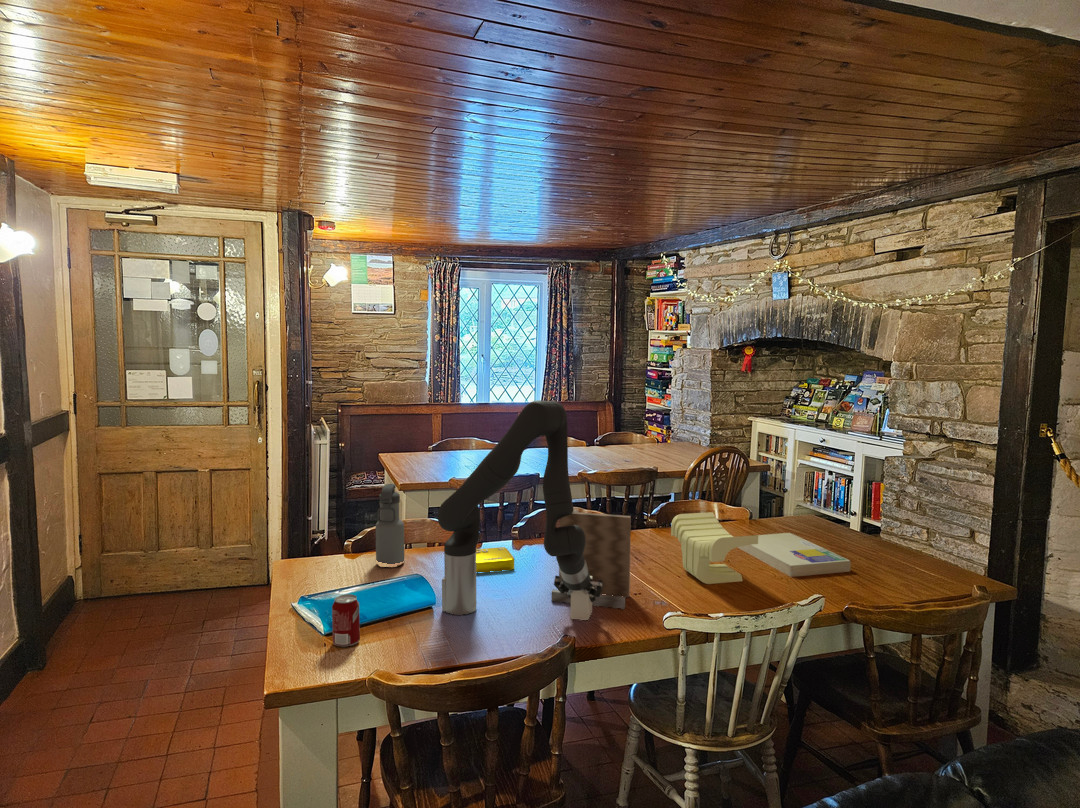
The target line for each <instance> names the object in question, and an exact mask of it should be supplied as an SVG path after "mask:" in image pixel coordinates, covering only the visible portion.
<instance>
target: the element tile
mask: <svg viewBox="0 0 1080 808" xmlns="http://www.w3.org/2000/svg"><path fill="white" fill-rule="evenodd" d="M512 569H514V570H515V557H514V556H513V555H512V553H511V552H510V550H508V548H507V547H505V546H503V547H502V546H501V547H489V548H487V547H486V548H476V572H490V571H502V570H512ZM512 571H513V570H512Z"/></svg>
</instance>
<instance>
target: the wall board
mask: <svg viewBox="0 0 1080 808" xmlns="http://www.w3.org/2000/svg"><path fill="white" fill-rule="evenodd" d="M631 517H632V516H631V515H624V514H623V515H621V514H606V513H592V512H582V511H581V512H576V511H573V513H572V514H571V515H568V516H566V517H563V518H561V519H559V527H563V526H570V525H577V526H579V527H581V528H582V529H583V531H584V533H585V538H586V543H585V548H584V552H583V556H584V559H585V561H586V563H587V566H588V570H589V573H590V576H593V579H592V580H593V581H594V582H598V580H602V581H603V583H602V590H601V593H600V597H596V598H595V601H593V602H592V605H595V606H594V607H599V606H604V607H603V608H608V607H613V608H612V609H617V608H621V609H620V610H625V608H626V598H628V597H630V592H631V591H630V589H631V585H630V583H631V581H630V580H631V536H632V532H631V531H632V529H631V528H632V527H631V526H632V525H631V524H632V521H631V520H632V518H631ZM558 576H559V577H560V578H562V576H561V574H560V570H559V569H558ZM593 587H594V586H593ZM602 594H606V595H602ZM612 595H613V596H612ZM622 596H623V597H622ZM553 601H556V602H555V603H562V602H566V603H565V604H571V598H569V596H568V594H567V593H566V592H565V593H561V592H560V591H559V590H558V589H552V590H551V602H553Z"/></svg>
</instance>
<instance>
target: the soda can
mask: <svg viewBox="0 0 1080 808" xmlns="http://www.w3.org/2000/svg"><path fill="white" fill-rule="evenodd" d="M357 598H358V597H357V595H354V594H351V593H350V594H348V593H347V594H346V593H345V594H340V595H337V596H335V598H334V600H333V603H332V605H331V618H332V620H331V621H332V623H331V624H332V625H331V626H332V644H333V645H334V646H337V647H339V646H341V647H340V648H348V646H350V647H352V646H354V645H356V644H358V643H359V642H360V640H361V632H360V631H361V629H360V627H361V625H360V623H361V622H360V621H361V620H360V602H359V601H358V600H357Z"/></svg>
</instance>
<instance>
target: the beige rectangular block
mask: <svg viewBox="0 0 1080 808" xmlns="http://www.w3.org/2000/svg"><path fill="white" fill-rule="evenodd" d="M590 578H591V579H593V576H590ZM591 613H592V614H593V606H592V602H591V601H590V598H589V595H585V594H584V593H583V592H582V591H580V590H578V591H573V593H571V603H570V620H573V619H581V620H580V621H582V619H583V620H588V619H589V620H590V618H591V616H590V615H592V614H591ZM589 617H590V618H589ZM589 620H588V621H589Z"/></svg>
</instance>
